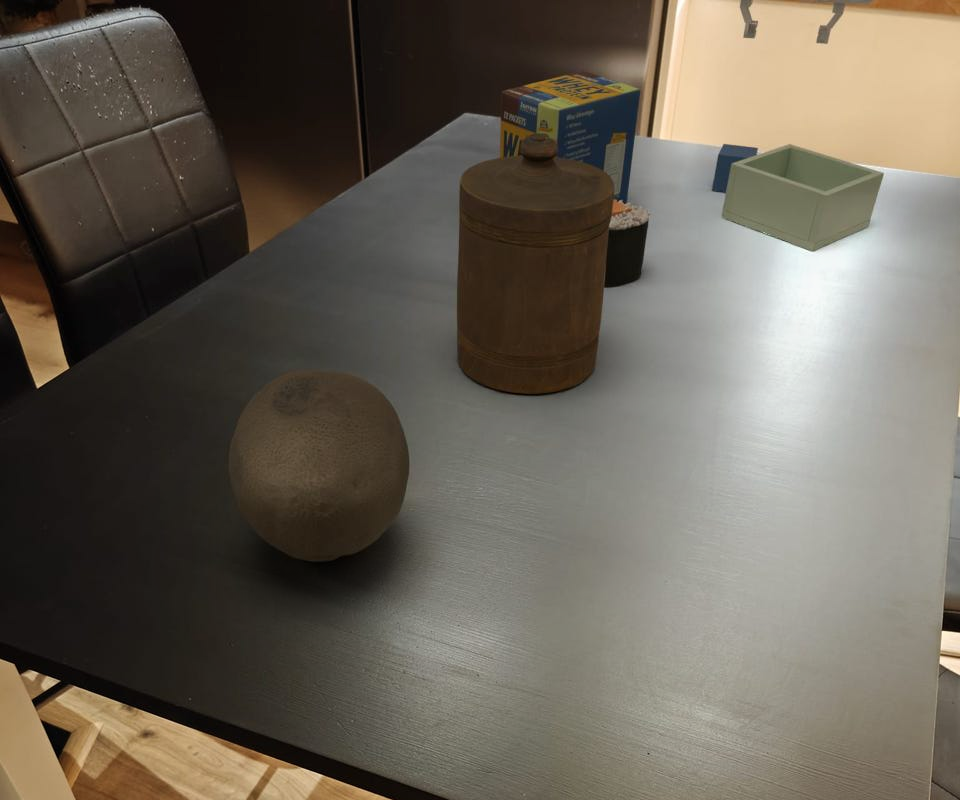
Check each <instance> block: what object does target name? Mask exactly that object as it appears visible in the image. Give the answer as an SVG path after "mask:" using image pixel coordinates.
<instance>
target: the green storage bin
mask: <svg viewBox="0 0 960 800" xmlns="http://www.w3.org/2000/svg"><path fill="white" fill-rule="evenodd" d="M884 175H885V172H882V171H879V170H876V169H873V168H868V167H866V166H863V165H859V164H856V163H853V162H849V161H846V160H843V159H840V158H837V157H833V156H830V155H827V154H824V153H820V152H817V151H814V150H810V149H807V148H805V147H801V146H798V145H795V144H791V143H788V144H786V145H783V146H779V147H776V148H774V149H771V150H768V151H765V152H762V153H759V154H758V153H757V155H755V156H752V157H750V158H747V159H744V160H741V161H738V162H735V163H732V164H731V169H730V174H729V179H728V185H727V190H726V192H725V196H724V199H723V200H724V202H723V206H722V211H721V216H722V217H724V218H726V219H725V220H727V219H728V220H727V221H730V220H731V221H730V222H732V221H734V222H733V223H735V222H736V223H735V224H738V223H739V224H738V225H740V224H741V226H743V225H745V226H744V227H746V226H747V227H746V228H748V227H751V228H754V229H756V230H759V231H762V232H765V233H767V234H770V235H772V236H771V237H773V236H775V237H777V238H776V239H778V238H780V239H779V240H781V239H782V240H781V241H783V240H785V241H784V242H786V241H788V242H787V243H789V242H790V243H789V244H791V243H792V244H791V245H794V246H797V247H800V248H802V249H804V250H807V251H810V252H814V251H817V250H819V249H821V248H824V247H826V246H829V245H831V244H832V243H835V242H838V241H840V240H842V239H844V238H846V237H849V236H851V235H854V234H856V233H858V232H861V231H862V230H865V229H868V228H869V224H870V222H871V218H872V216H873V215H872V214H873V211H874V208H875V206H876V202H877V199H878V195H879V192H880V188H881V185H882V182H883V178H884ZM722 217H721V218H722ZM724 218H723V219H724ZM751 228H750V229H751ZM754 229H753V230H754ZM756 230H755V231H756ZM759 231H758V232H759ZM762 232H761V233H762ZM765 233H764V234H765ZM767 234H766V235H767ZM770 235H769V236H770ZM775 237H774V238H775Z"/></svg>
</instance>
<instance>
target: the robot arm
mask: <svg viewBox="0 0 960 800" xmlns="http://www.w3.org/2000/svg"><path fill="white" fill-rule="evenodd" d="M797 1H799V2H815V3H816V2H817V3H829V4H830V3H832V4H833V6H832V7H833V8H832V11H831V13H832V14H833V15H832V17H831V18H830V20H829V21H828V23H826V25H823V24H820V25H819V28H818V32H817V37H816V40H815V41H816V42H815V43H816V44H822V45H828V43H829V40H830V35H831V32H832V31H831V30H832V29H833V28H834V26H835V25H836V24H837V23H838V21H839V20H840V19H841V17H842V16H843V15H844V12H845V7H846V5H861V6H863V5H864V6H867V5H870V4H871V3H872V2H873V1H874V0H797ZM753 2H754V0H740V1H739V10H740V12H741V17H742V19H743V21H744V23H745V25H744V30H743V37H742V38H744V39H755V38H756V35H757V28H758V26H759V20H753V18H752V15H751V11H750V8H751V6H753Z"/></svg>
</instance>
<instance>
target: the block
mask: <svg viewBox="0 0 960 800" xmlns="http://www.w3.org/2000/svg"><path fill="white" fill-rule="evenodd" d="M758 150H759V148H758V147H753V146H745V145H738V144H728V143H723V144H722V146H721V148H720V150H719V152H718V154H717V159H716V166H715V171H714V175H713V181H712V186H711V191H712V190H716V191H715V192H718V191H725V192H724V193H726V190H727V185H728V179H729V174H730V169H731V164H732V163H735V162H738V161H741V160H744V159H747V158H750V157H752V156H755V155H758Z"/></svg>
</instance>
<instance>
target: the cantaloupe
mask: <svg viewBox="0 0 960 800" xmlns="http://www.w3.org/2000/svg"><path fill="white" fill-rule="evenodd" d="M229 445H230V446H229V453H228V474H229V481H230V485H231V488H232V493H233V495H234V497H235V500H236V504H237V505H238V508H239V510H240V512H241V514H242V515H243V517H244V519H245V521H246V522H247V523H248V525H249V526H250V528H251V529H252V530H253V531H254V532H255V533H256V535H258V536H259V537H260V538H261V539H262V540H264V542H265V543H267V544H269V545H270V546H272V547H273V548H275V549H277V550H278V551H280V552H282V553H283V554H285V555H287V556H289V557H291V558H294V559H297V560H302V561H307V562H310V563H312V562H313V563H319V562H321V563H323V562H331V561H335V560H336V559H338V558H340V557H343V556H350V555H355V554H357V553H358V552H361V551H363V550H364V549H366V548H367V547H368V546H370V545H372V544H373V543H375V542H376V541H377V540H378V539H379V538H380V537H381V536H382V535H383V534H384V532H386V531H387V530H388V529H389V528H390V527H391V525H392V524H393V523H394V522H395V520H396V518H397V517H398V515H399V514H400V511H401V509H402V506H403V503H404V501H405V496H406V492H407V487H408V481H409V478H410V477H409V476H410V452H409V445H408V442H407V439H406V433H405V431H404V428H403V426H402V423H401V421H400V417H399V415H398V413H397V411H396V409H395V407H394V405H393V404H392V402H391V401H390V400H389V399H388V398H387V396H386V395H385V394H384V393H383V392H382V391H381V390H380V389H379V388H377V387H376V385H373V383H370V382H369V381H367V380H365V379H363V378H361V377H359V376H356V375H354V374H351V373H348V372H343V371H339V370H326V369H325V370H324V369H313V368H312V369H304V370H295V371H292V372H288V373H285V374H282V375H280V376H279V377H276V378H275V379H273V380H271V381H269V382H268V383H267V384H266V385H264V386H263V387H262V388H261V389H260V390H259V391H258V392H257V393H256V394H254V395H253V397H252V398H251V399H250V401H248V403H247V405H245V407H244V409H243V411H242V412H241V414H240V416H239V418H238V421H237V423H236V426H235V430H234V432H233V436H232V438H231V441H230V444H229Z"/></svg>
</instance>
